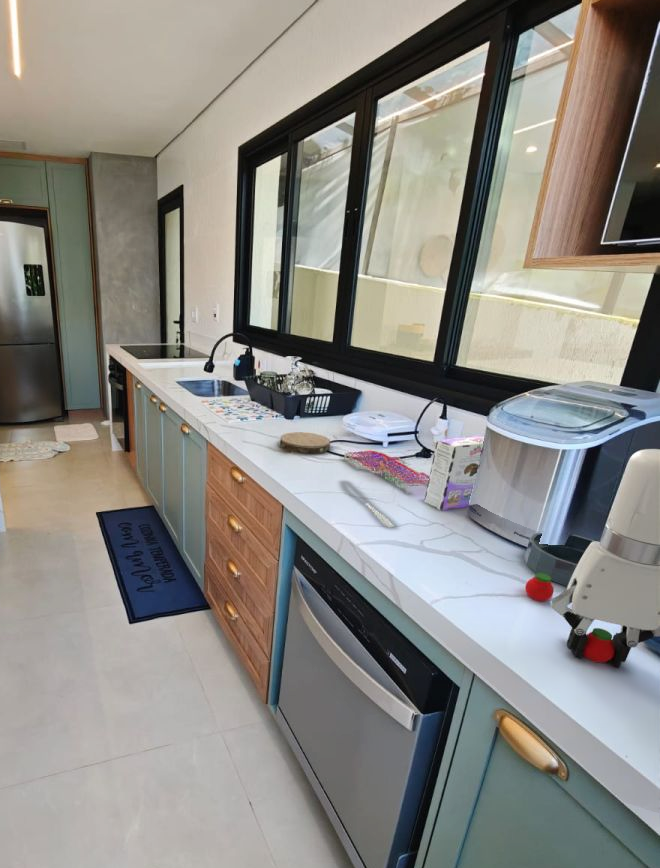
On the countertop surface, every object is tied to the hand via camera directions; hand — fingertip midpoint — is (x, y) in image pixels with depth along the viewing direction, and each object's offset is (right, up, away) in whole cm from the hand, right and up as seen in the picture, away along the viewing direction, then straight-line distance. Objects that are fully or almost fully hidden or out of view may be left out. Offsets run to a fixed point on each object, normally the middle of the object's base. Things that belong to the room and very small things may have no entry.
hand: (593, 657), depth 72 cm
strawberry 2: (0, 0, 0) cm, 0 cm away
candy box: (+5, +20, +52) cm, 56 cm away
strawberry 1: (+1, +5, +14) cm, 15 cm away
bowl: (+12, +8, +23) cm, 27 cm away
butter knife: (-17, +20, +50) cm, 57 cm away
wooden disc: (-24, +37, +92) cm, 102 cm away
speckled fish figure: (-4, +27, +69) cm, 75 cm away
